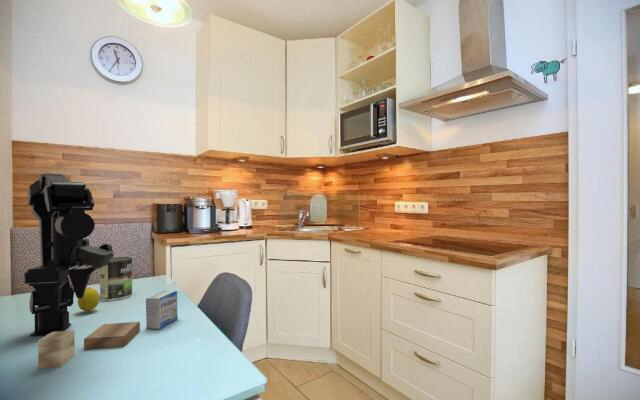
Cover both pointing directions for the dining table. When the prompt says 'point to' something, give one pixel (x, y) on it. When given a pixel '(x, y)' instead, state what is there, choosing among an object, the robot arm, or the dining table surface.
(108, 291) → the coffee can
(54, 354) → the birch block
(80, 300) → the lemon
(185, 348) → the dining table surface
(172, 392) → the dining table surface
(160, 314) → the medicine box
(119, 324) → the walnut block
